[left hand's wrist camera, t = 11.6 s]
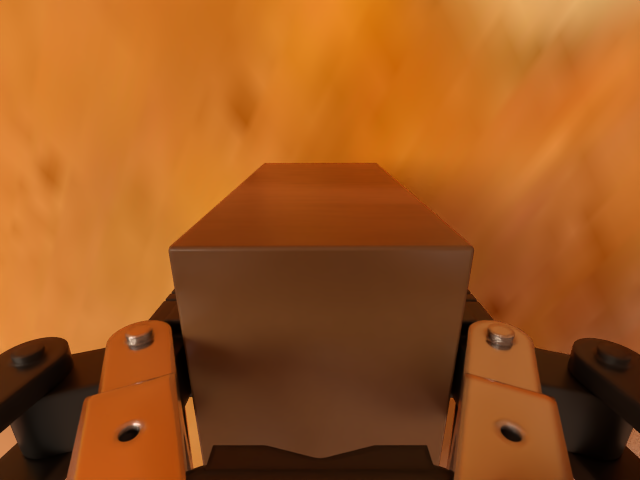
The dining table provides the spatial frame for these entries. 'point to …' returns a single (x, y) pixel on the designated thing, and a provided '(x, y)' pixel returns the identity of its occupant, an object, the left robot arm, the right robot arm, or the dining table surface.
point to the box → (321, 312)
